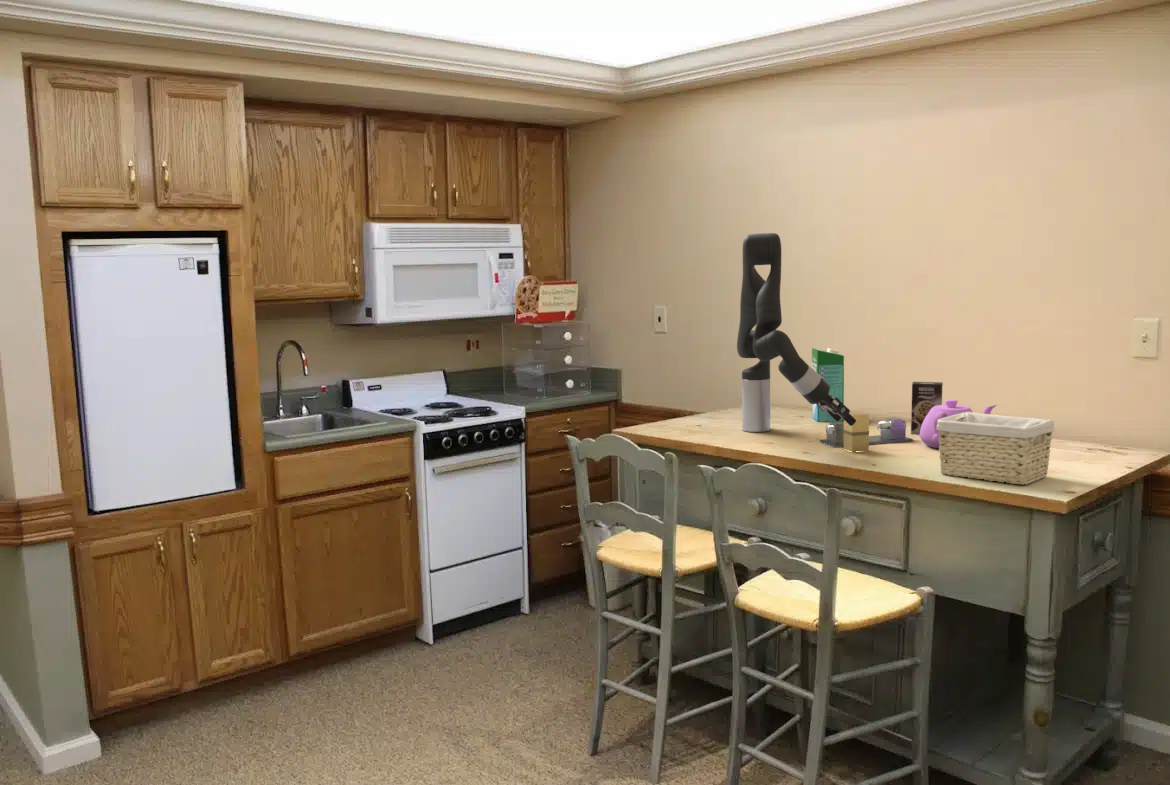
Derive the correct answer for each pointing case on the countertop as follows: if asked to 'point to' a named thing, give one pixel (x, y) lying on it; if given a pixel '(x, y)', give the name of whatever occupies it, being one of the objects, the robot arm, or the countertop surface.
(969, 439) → the storage basket
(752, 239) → the robot arm
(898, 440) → the shaft bench
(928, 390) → the coffee box
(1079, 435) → the countertop surface
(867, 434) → the block
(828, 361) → the milk carton
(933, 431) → the teapot
